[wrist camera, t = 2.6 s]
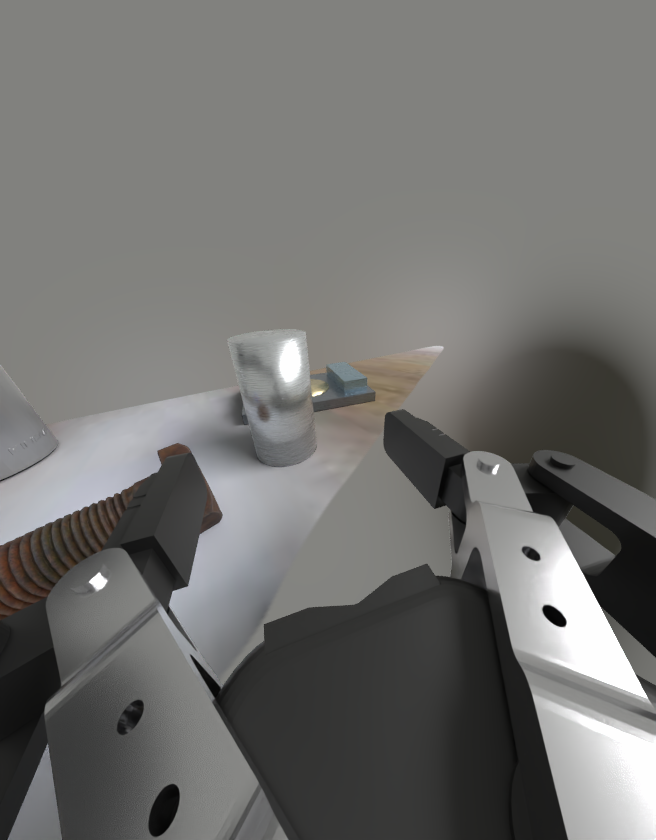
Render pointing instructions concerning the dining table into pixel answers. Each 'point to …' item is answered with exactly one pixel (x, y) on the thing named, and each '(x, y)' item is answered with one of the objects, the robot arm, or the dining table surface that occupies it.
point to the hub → (276, 394)
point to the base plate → (336, 388)
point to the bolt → (70, 544)
